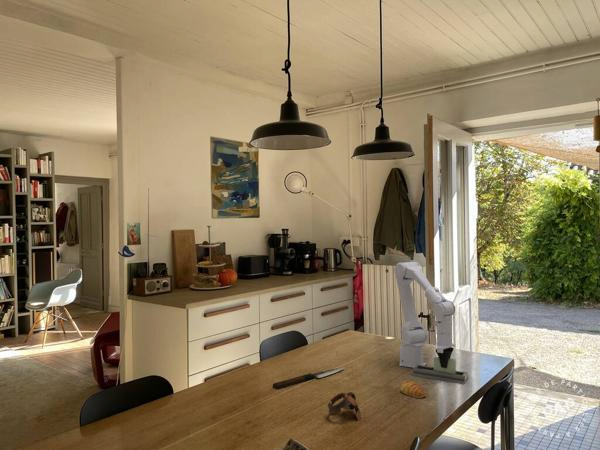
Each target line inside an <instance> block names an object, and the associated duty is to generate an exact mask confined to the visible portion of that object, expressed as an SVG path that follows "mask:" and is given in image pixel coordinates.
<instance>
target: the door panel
mask: <svg viewBox="0 0 600 450" xmlns="http://www.w3.org/2000/svg"><path fill="white" fill-rule="evenodd" d="M456 365H457V362H456V359H455V358H450V359H448V366H447V368H441V365H440V361H439V357H438V356H434V357H433V367H434V371H438V372H445V373H451V374H456V371H457V369H456V368H457V366H456Z"/></svg>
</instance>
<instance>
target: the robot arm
mask: <svg viewBox="0 0 600 450" xmlns="http://www.w3.org/2000/svg"><path fill="white" fill-rule="evenodd" d="M393 270H394V275H395V279H396V285H397V288H398V290H397V291H398V295H399V299H400V303H401V309H402V313H403V317H404V318H403V319H404V322H405V323H404V324H403V325H402V326H401V328H400V330H401V341H402V342H403V343H400V346H399V364H398V365H399V366H400V367H406V368H412V369H413V368H414V367H415V366H416V365H422V366H427V363H426V362H424V345H425V343H426V341H427V340H428V334H427V331H426V329H425V326H424V324H423V323H422V322H421V321H419V320H418V314H417V310H416V305H415V300H414V296H413V292H412V288H411V287H412V286H411V284H412V282H414V281H415V282H416V284H418V286H419V287H420V288H421V289H423V291H424V297H426V299H427V300H428V302H429V303H430V304H431V305H432V307H433V308H432V311H433V314H434V316H435V320H436V348H435V353H436V355H437V357H439V361H440V365H441V368H447V366H448V359H451V357H452V354H453V351H454V348H455V347H456V343H453V316H454V315H455V313H456V306H455V304H454V303H453V301H451V300H449V299H446V297H444V295H443V293H442V292H441V291H440V289H439V288H438V287H436V286H432V284H431V283H430V281H429V280H428V279H427V277H426V275H425V274H424V272H423V267H422V265H420V263H419V262H418V261H408V262H406V261H405V262H397V263H396V265H395V267H394V269H393Z"/></svg>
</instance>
